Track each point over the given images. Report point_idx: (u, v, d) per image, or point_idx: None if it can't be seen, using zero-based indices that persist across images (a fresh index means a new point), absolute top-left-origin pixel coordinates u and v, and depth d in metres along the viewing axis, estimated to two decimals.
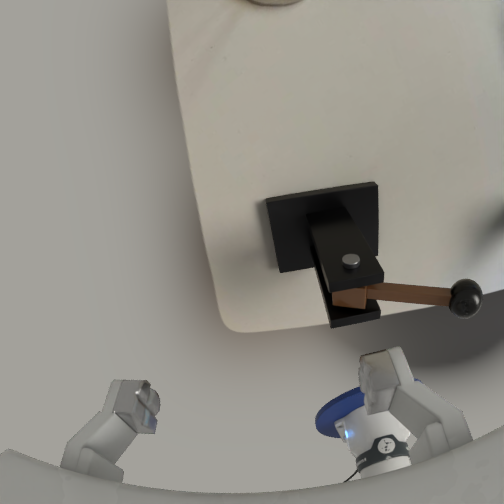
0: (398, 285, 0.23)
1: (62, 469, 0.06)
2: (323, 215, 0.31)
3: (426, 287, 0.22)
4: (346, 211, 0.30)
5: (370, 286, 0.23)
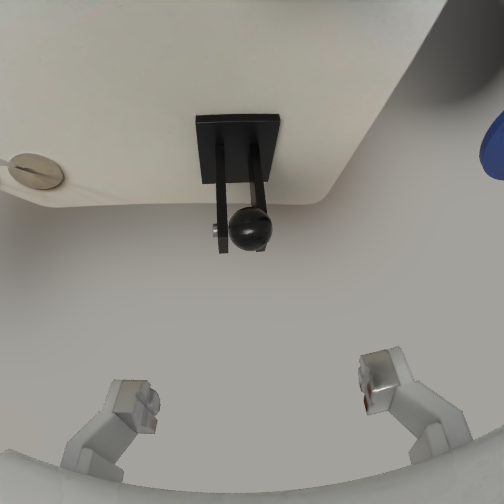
0: None
1: (62, 469, 0.06)
2: None
3: None
4: (215, 152, 0.33)
5: None
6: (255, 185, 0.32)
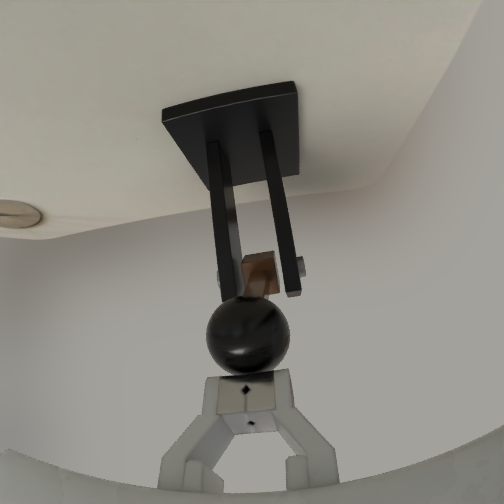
0: None
1: (62, 469, 0.06)
2: None
3: None
4: (207, 155, 0.22)
5: None
6: (273, 204, 0.20)
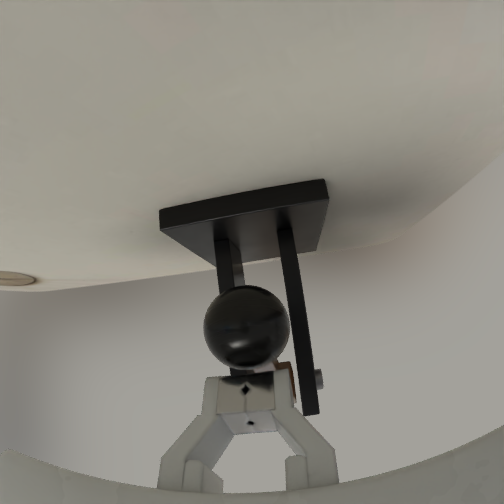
0: None
1: (62, 469, 0.06)
2: None
3: None
4: None
5: None
6: (292, 325, 0.18)
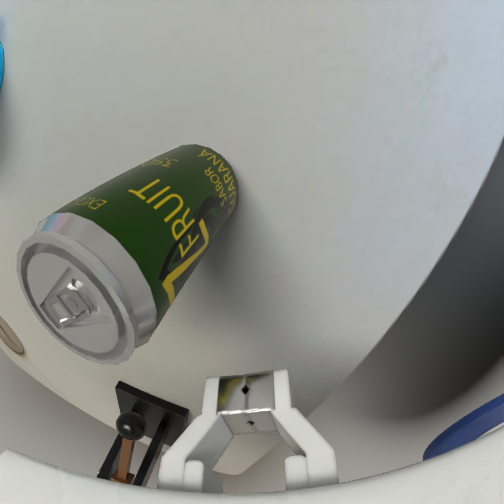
0: None
1: (62, 469, 0.06)
2: None
3: None
4: None
5: (118, 473, 0.25)
6: (144, 458, 0.28)
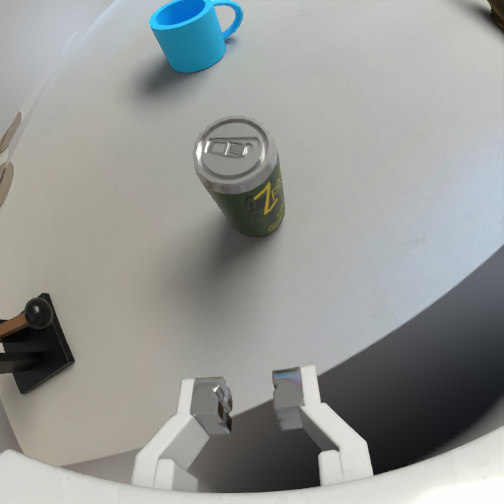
0: None
1: (62, 469, 0.06)
2: None
3: None
4: None
5: None
6: (7, 353, 0.23)
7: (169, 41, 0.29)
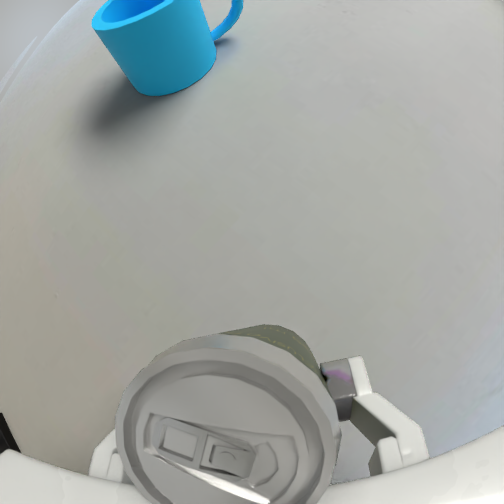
0: None
1: (62, 469, 0.06)
2: None
3: None
4: None
5: None
6: None
7: (120, 48, 0.17)
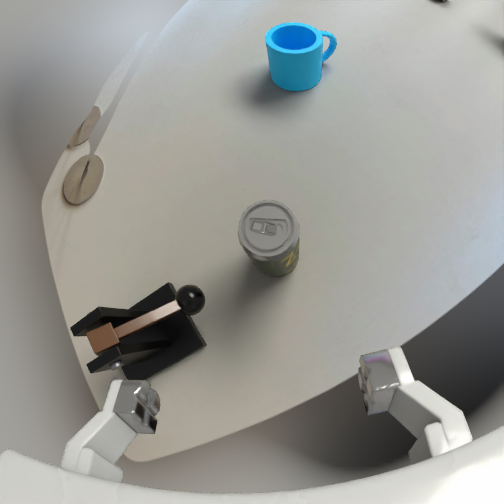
0: None
1: (62, 469, 0.06)
2: None
3: None
4: None
5: (116, 328, 0.27)
6: (145, 342, 0.30)
7: (286, 63, 0.36)
